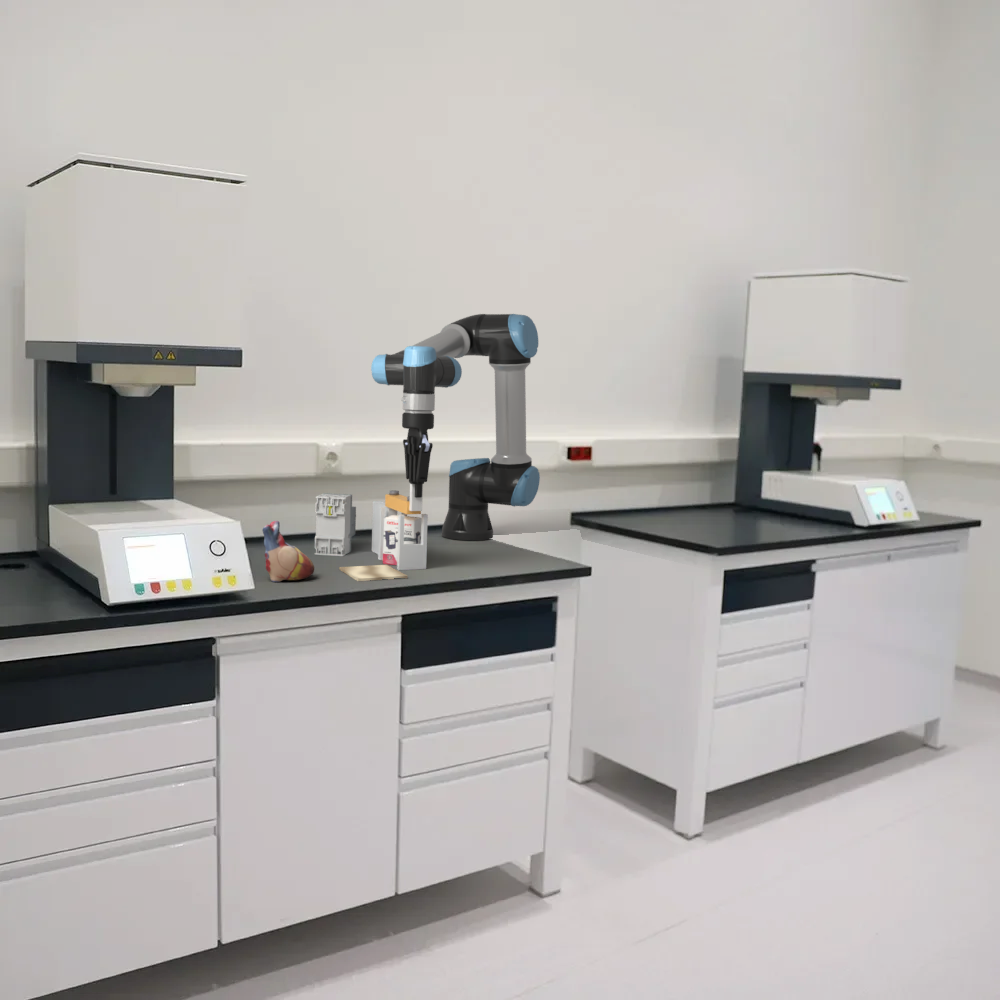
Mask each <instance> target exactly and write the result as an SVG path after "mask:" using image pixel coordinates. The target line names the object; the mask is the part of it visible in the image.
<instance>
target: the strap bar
mask: <svg viewBox="0 0 1000 1000" xmlns="http://www.w3.org/2000/svg"><path fill="white" fill-rule="evenodd" d="M388 493H389V494H387V493H386V494H385V499H384V500H385V501H384V502H385V506H386V507H389V508H391V509H394V510H397V512H398V513H405V514H407V515H422V511H410V510H409V504H410V495H409V496H406V495H402V494H400V491H399V490H391V489H390V490H389V492H388Z"/></svg>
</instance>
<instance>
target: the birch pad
mask: <svg viewBox="0 0 1000 1000" xmlns="http://www.w3.org/2000/svg"><path fill="white" fill-rule="evenodd" d="M338 570H339V571H341V572H342V573H344V574H345V575H347V576H348V577H350V578H351V579H353V580H355V581H357V582H365V581H366V582H368V581H370V580H371V581H383V580H382V579H388V580H395V579H394V578H405V579H408V574H405V573H403V572H401V570H398V569H397V568H396V569H395V568H393V567H392V566H391V565H389V564H377V565H376V564H373V565H372V564H371V565H358V566H357V565H356V566H354V565H353V566H339V567H338Z"/></svg>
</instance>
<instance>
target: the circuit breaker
mask: <svg viewBox="0 0 1000 1000" xmlns="http://www.w3.org/2000/svg"><path fill="white" fill-rule="evenodd" d="M315 499H316V502H315V503H314V504H315V506H314V510H315V511H314V512H315V514H316V515H315V517H316V519H315V536H314V549H315V552H314V555H319V556H334V557H335V556H336V557H344V556H346V555H347V554H349V553H350V552H351V551H352V537H353V536H355V535H356V521H357V520H356V519H357V507H356V506H353V494H347V493H330V492H329V493H328V492H327V493H325V492H323V493H321V494H318V495H317V496H315Z"/></svg>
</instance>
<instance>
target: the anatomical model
mask: <svg viewBox="0 0 1000 1000" xmlns="http://www.w3.org/2000/svg"><path fill="white" fill-rule="evenodd" d="M262 533H263V536H264V537H263V538H264V540H263V546H264V548H265V552H264V558H265V569H266V571H267V573H268V575H269V578H270V581H271V582H273V583H281V582H282V581H301V580H305V579H308V578H309V577H311V576H312V575H313V574H314V572H315V565H314V562H313V561H312V559H310V557H308V556H307V555H306V554H305V553H303V552H302V551H301V550H300V549H299V548H298V547H296V546H295V545H291V544H289V543H288V542H286V541H285V538H284V537H283V534H282V533H281V532H280V521H278V520H273V521H271V522H270V524H266V525H264V526H263V528H262Z"/></svg>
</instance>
